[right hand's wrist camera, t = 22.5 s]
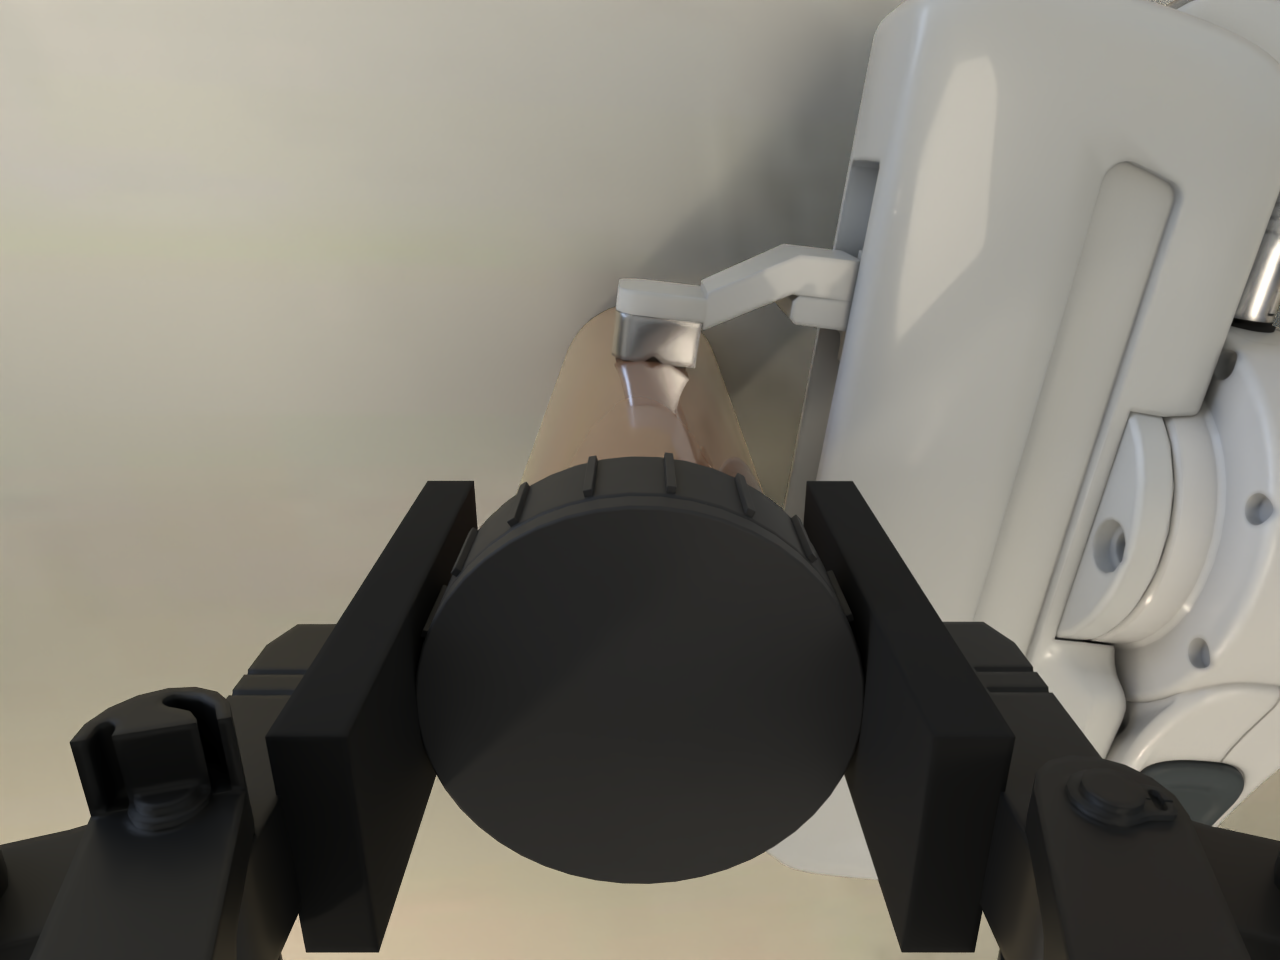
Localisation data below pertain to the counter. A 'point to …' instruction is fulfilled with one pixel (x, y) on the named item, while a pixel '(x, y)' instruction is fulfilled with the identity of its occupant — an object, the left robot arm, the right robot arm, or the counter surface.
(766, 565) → the lid
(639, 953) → the counter surface
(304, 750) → the right robot arm
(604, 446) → the jar
